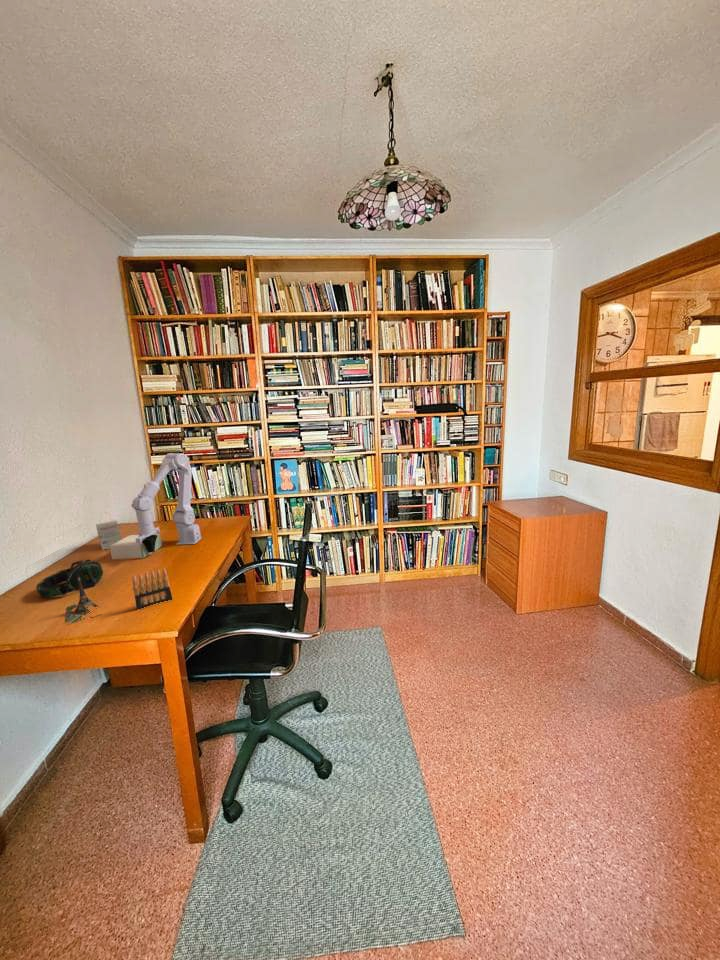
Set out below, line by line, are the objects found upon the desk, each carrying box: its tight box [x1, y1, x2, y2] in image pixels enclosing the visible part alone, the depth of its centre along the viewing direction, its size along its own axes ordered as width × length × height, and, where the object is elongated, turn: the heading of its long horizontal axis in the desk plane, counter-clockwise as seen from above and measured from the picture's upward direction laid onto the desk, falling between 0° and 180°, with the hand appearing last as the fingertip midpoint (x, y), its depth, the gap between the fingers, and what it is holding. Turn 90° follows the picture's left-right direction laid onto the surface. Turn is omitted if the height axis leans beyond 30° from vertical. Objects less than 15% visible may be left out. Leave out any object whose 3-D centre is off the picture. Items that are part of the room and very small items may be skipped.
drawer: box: [140, 533, 163, 559], centre depth 171 cm, size 14×14×6 cm
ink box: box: [95, 519, 122, 551], centre depth 182 cm, size 9×9×12 cm
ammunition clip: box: [131, 567, 173, 611], centre depth 123 cm, size 11×2×12 cm, turn 122°
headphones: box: [35, 559, 104, 599], centre depth 139 cm, size 13×13×20 cm
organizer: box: [109, 533, 158, 560], centre depth 171 cm, size 14×14×6 cm
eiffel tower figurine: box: [64, 576, 99, 624], centre depth 121 cm, size 15×10×13 cm
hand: (151, 551), depth 167 cm, fingers closed, pressing on drawer
